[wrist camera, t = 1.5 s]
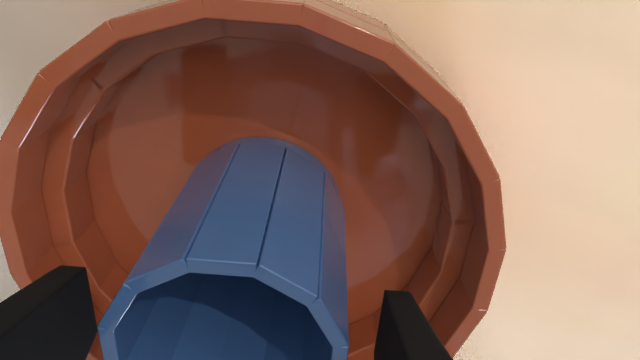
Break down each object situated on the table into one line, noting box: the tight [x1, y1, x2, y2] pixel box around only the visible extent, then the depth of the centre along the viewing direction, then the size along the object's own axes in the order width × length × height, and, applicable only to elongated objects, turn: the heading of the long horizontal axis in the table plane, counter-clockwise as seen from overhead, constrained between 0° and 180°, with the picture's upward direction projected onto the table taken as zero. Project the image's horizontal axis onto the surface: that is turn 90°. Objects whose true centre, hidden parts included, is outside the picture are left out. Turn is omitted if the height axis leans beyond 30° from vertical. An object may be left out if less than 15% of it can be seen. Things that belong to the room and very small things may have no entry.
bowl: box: [0, 0, 506, 360], centre depth 15 cm, size 14×14×4 cm
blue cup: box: [98, 137, 349, 360], centre depth 13 cm, size 5×5×6 cm
